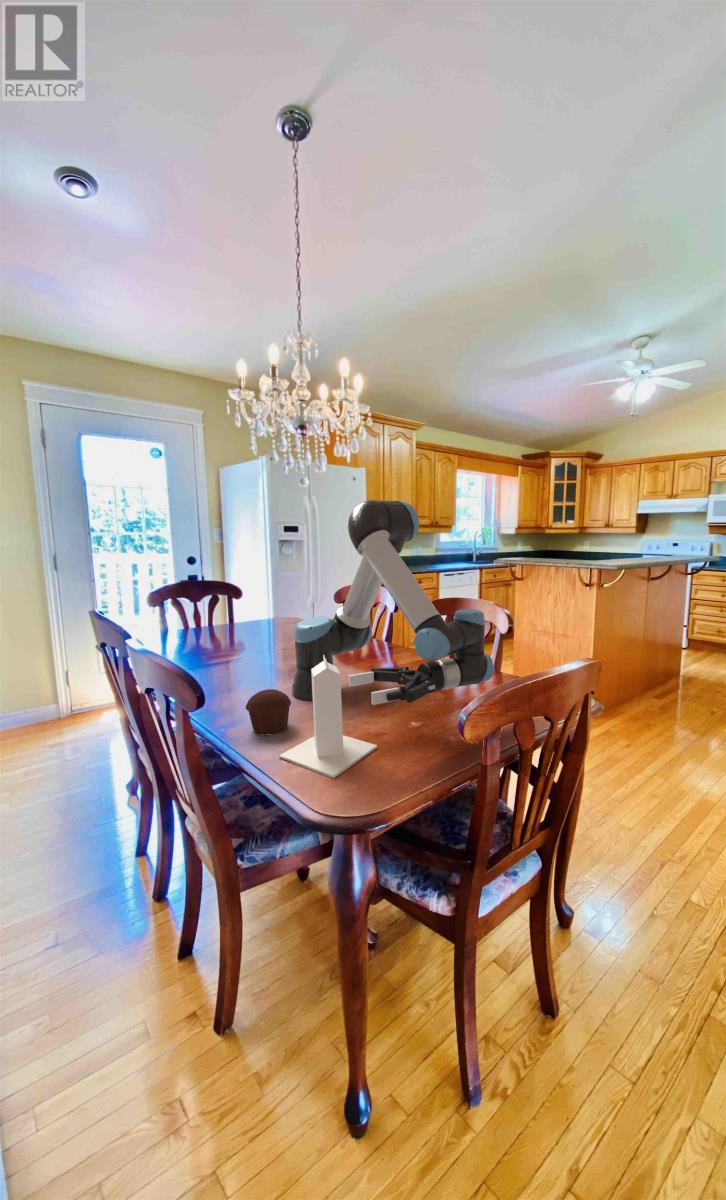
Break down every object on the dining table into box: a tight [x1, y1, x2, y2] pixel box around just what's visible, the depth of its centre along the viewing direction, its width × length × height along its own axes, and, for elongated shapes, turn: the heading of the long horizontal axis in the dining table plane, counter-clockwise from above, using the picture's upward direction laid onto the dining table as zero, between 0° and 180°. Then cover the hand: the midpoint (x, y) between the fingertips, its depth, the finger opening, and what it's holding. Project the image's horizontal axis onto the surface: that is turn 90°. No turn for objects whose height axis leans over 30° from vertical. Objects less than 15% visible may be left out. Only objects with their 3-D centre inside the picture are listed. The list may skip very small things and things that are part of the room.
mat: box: [278, 734, 378, 779], centre depth 106 cm, size 16×16×1 cm
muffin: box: [245, 688, 292, 736], centre depth 120 cm, size 12×11×10 cm
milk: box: [311, 655, 344, 758], centre depth 104 cm, size 6×6×22 cm
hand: (359, 689), depth 107 cm, fingers open, 13 cm apart
